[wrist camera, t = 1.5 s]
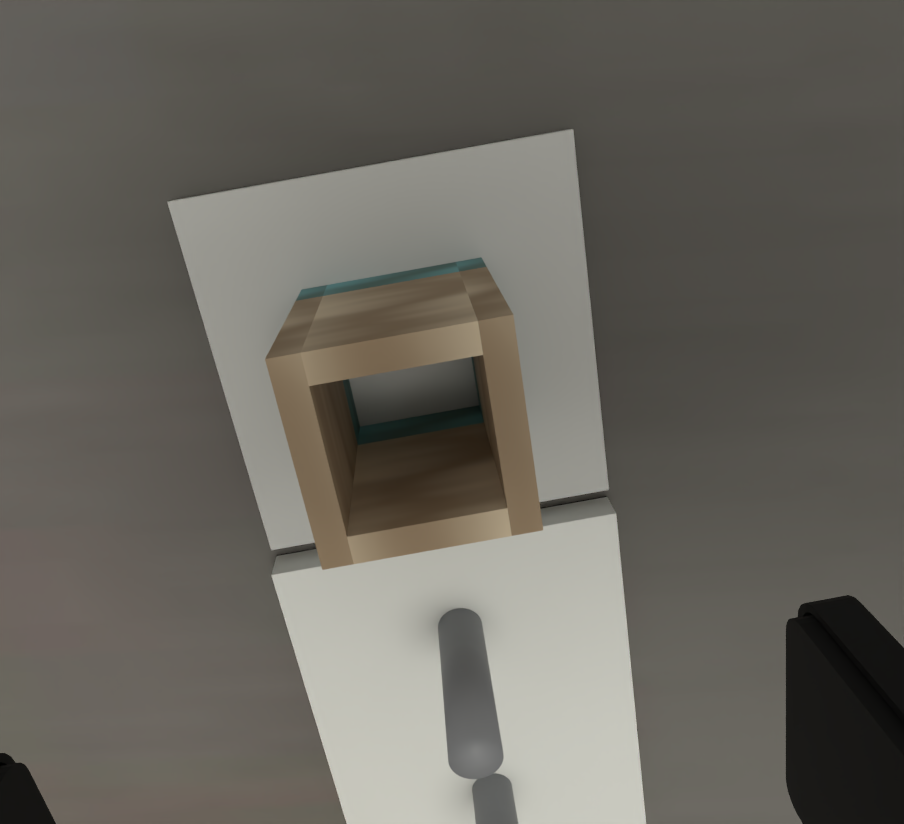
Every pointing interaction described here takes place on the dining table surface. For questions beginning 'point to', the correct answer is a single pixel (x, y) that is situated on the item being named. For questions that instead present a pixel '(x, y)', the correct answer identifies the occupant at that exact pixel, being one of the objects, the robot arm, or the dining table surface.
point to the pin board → (524, 662)
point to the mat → (395, 250)
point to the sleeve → (411, 439)
